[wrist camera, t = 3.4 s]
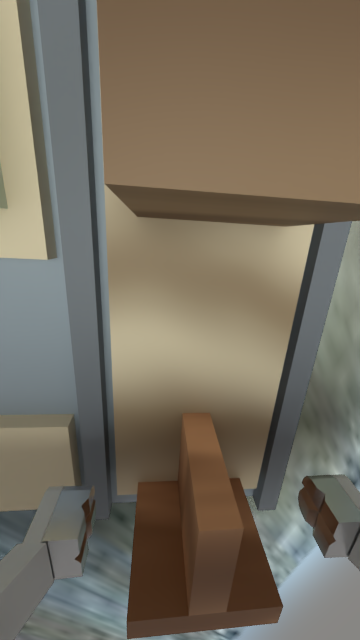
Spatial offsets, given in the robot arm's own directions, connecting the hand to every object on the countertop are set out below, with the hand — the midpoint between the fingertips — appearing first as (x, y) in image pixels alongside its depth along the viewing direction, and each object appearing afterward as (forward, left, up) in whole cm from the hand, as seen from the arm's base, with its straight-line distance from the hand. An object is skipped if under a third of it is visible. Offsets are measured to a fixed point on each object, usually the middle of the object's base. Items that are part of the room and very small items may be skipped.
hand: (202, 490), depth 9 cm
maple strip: (+7, 0, -3) cm, 8 cm away
